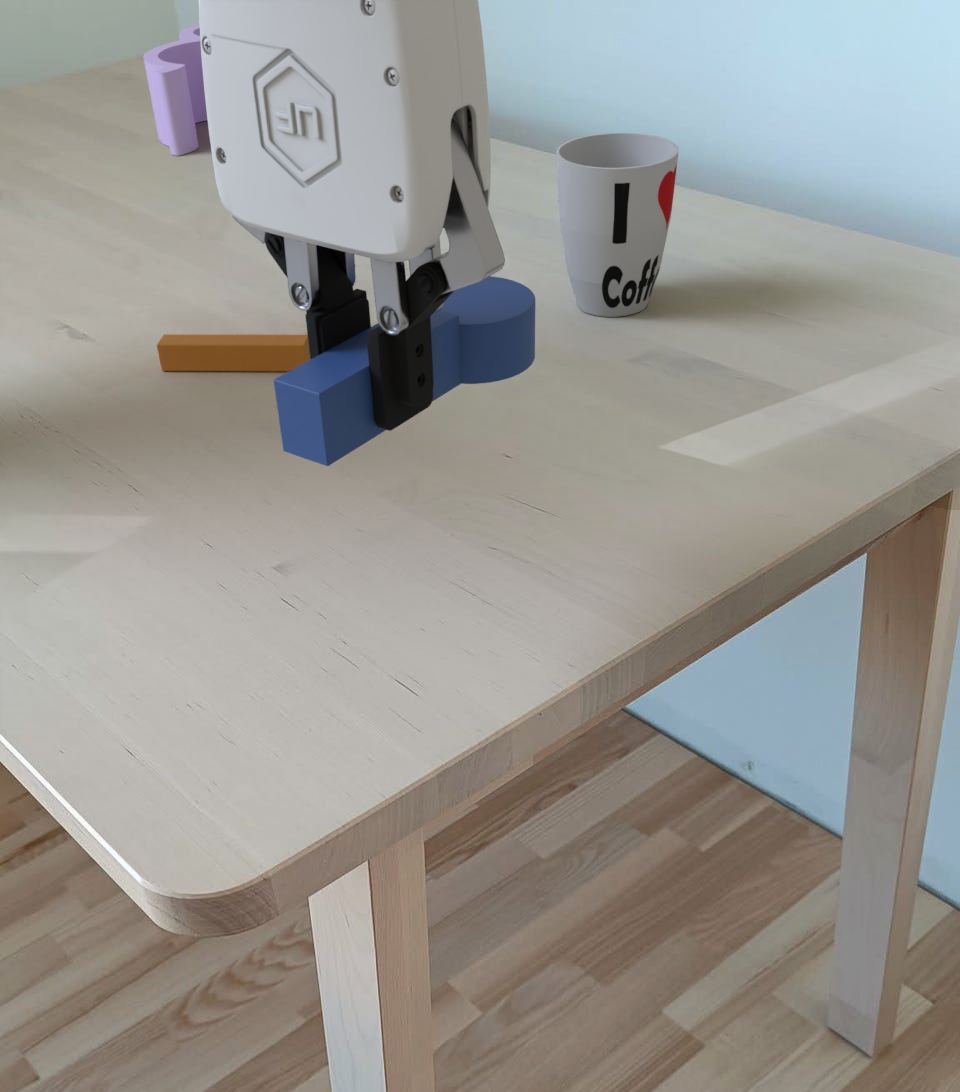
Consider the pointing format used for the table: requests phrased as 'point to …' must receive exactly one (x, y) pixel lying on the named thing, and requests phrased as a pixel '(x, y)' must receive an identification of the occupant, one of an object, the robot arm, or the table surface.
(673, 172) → the cup
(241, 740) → the table surface
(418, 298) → the robot arm
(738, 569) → the table surface
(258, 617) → the table surface
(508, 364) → the spoon
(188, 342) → the bar
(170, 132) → the clip
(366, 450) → the table surface
